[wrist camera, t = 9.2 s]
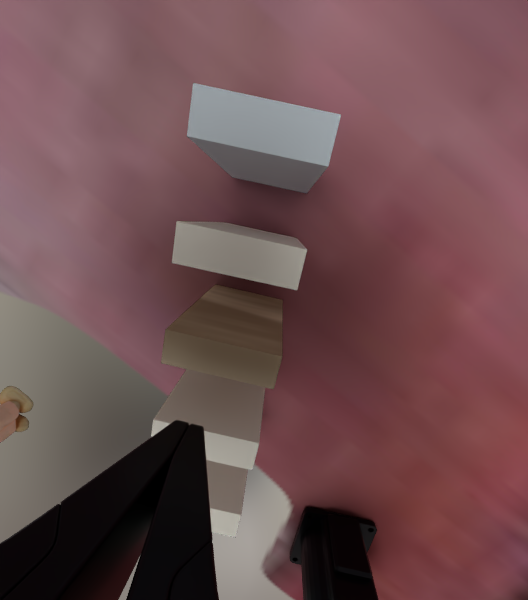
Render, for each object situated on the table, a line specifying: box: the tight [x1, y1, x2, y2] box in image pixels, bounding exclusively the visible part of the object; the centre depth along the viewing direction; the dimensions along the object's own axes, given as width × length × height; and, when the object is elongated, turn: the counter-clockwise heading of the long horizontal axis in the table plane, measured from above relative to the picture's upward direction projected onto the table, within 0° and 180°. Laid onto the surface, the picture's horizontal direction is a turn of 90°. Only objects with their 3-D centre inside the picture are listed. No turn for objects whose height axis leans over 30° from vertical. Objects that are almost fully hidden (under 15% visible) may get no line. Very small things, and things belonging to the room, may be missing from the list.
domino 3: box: [161, 284, 283, 389], centre depth 16 cm, size 2×5×9 cm, turn 77°
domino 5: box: [206, 460, 248, 537], centre depth 19 cm, size 2×5×9 cm, turn 78°
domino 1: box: [187, 83, 341, 193], centre depth 14 cm, size 2×5×9 cm, turn 78°
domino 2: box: [172, 221, 307, 290], centre depth 15 cm, size 2×5×9 cm, turn 78°
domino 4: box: [151, 369, 265, 470], centre depth 17 cm, size 2×5×9 cm, turn 78°
